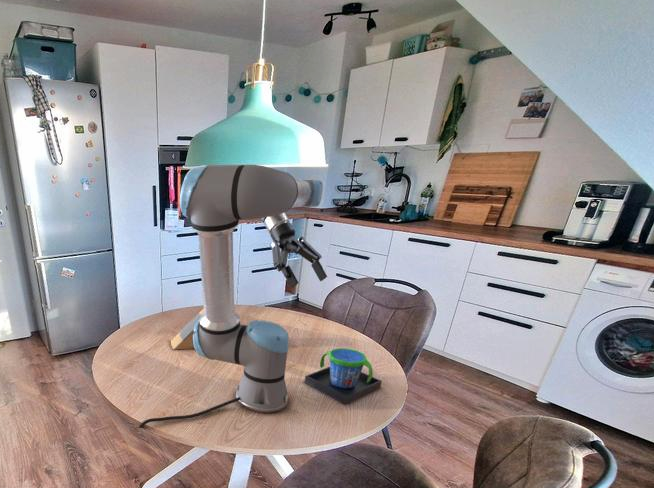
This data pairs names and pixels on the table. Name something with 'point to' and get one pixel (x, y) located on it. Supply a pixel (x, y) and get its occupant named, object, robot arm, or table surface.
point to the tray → (345, 396)
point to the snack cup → (346, 367)
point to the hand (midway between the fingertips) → (309, 282)
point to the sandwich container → (186, 335)
